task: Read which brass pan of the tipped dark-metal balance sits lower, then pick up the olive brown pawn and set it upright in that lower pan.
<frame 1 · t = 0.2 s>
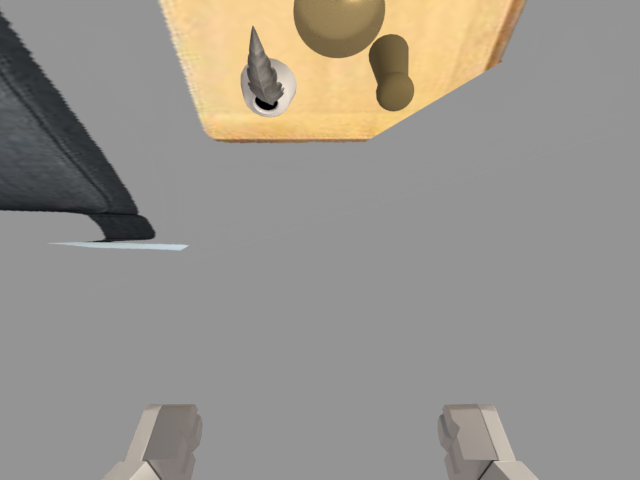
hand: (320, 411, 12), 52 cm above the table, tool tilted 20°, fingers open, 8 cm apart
inkwell: (264, 56, 56), on the table
olive brown pawn: (388, 53, 56), on the table
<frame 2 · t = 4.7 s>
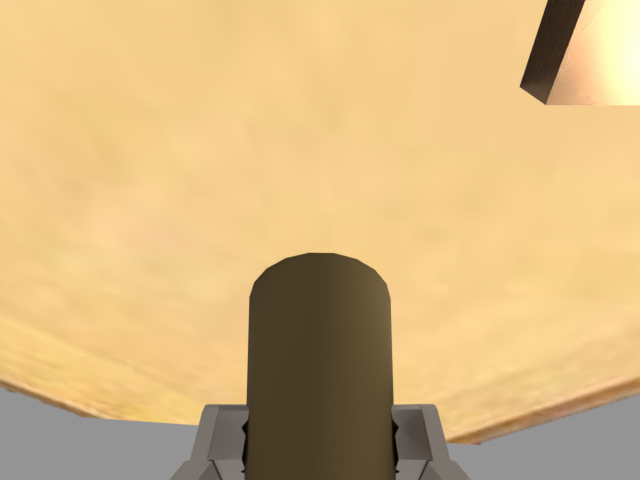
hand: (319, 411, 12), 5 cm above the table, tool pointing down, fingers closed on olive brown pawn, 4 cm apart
olive brown pawn: (319, 301, 16), on the table, touching gripper
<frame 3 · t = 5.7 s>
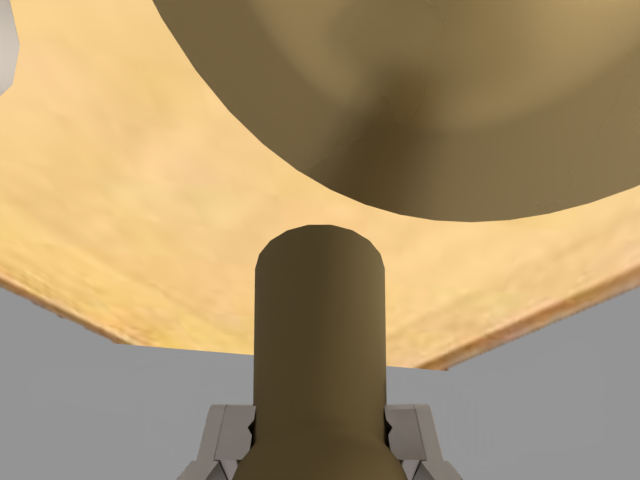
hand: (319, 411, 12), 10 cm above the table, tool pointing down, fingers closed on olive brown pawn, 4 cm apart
olive brown pawn: (319, 273, 17), point 4 cm above the table, touching gripper
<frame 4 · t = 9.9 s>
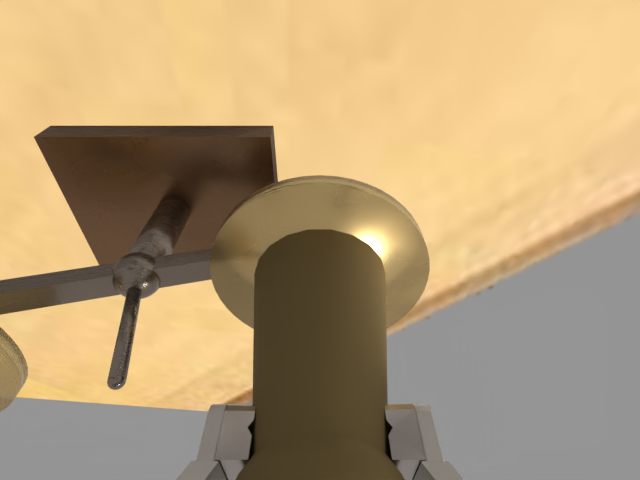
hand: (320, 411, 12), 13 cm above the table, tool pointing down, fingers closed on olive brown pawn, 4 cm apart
olive brown pawn: (320, 277, 17), point 7 cm above the table, touching balance, gripper
balance: (181, 197, 23), on the table
when the fingers open (13 cm above the table, at t = 10.4 s): olive brown pawn stays where it is, resting on balance.
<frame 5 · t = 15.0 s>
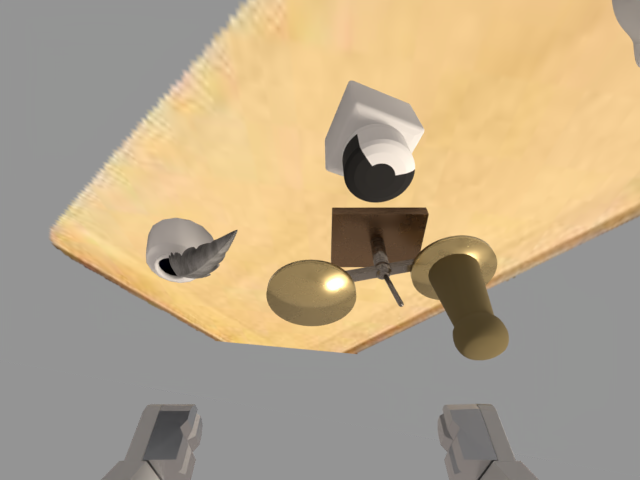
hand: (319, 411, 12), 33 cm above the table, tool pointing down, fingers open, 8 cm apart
inkwell: (202, 225, 49), on the table
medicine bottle: (366, 122, 40), on the table
olive brown pawn: (453, 271, 44), point 7 cm above the table, touching balance
balance: (375, 235, 49), on the table
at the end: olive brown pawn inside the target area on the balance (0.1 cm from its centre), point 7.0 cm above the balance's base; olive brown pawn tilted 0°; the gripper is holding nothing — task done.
